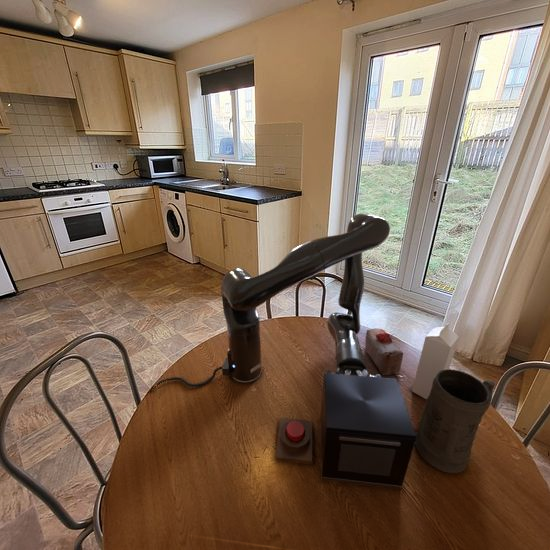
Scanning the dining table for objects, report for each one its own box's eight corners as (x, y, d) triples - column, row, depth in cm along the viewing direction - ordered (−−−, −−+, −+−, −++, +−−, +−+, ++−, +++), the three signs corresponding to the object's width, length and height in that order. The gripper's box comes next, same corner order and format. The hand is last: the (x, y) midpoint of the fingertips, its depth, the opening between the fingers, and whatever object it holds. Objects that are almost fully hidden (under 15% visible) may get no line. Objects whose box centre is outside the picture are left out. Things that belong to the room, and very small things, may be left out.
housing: (275, 460, 65) (275, 451, 63) (280, 421, 74) (280, 412, 72) (311, 464, 64) (312, 455, 62) (312, 424, 73) (312, 415, 71)
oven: (321, 481, 61) (326, 428, 54) (320, 421, 73) (323, 373, 67) (401, 490, 59) (417, 437, 52) (385, 427, 72) (396, 378, 65)
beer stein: (444, 485, 60) (476, 413, 52) (402, 441, 68) (423, 374, 60) (486, 454, 66) (520, 387, 59) (443, 418, 75) (467, 355, 67)
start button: (285, 441, 66) (285, 435, 65) (287, 425, 70) (287, 420, 69) (303, 442, 66) (303, 437, 65) (304, 427, 69) (304, 422, 68)
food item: (360, 347, 99) (363, 323, 95) (382, 345, 100) (386, 321, 96) (379, 376, 87) (384, 350, 83) (404, 373, 88) (410, 347, 84)
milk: (442, 392, 82) (463, 326, 72) (433, 404, 78) (454, 336, 69) (420, 380, 86) (437, 316, 76) (411, 391, 82) (428, 325, 73)
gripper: (324, 345, 81) (327, 394, 66) (377, 349, 79) (393, 399, 64) (322, 366, 84) (325, 417, 69) (374, 370, 83) (388, 423, 67)
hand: (358, 408), depth 67 cm, fingers closed on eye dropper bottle, 5 cm apart
